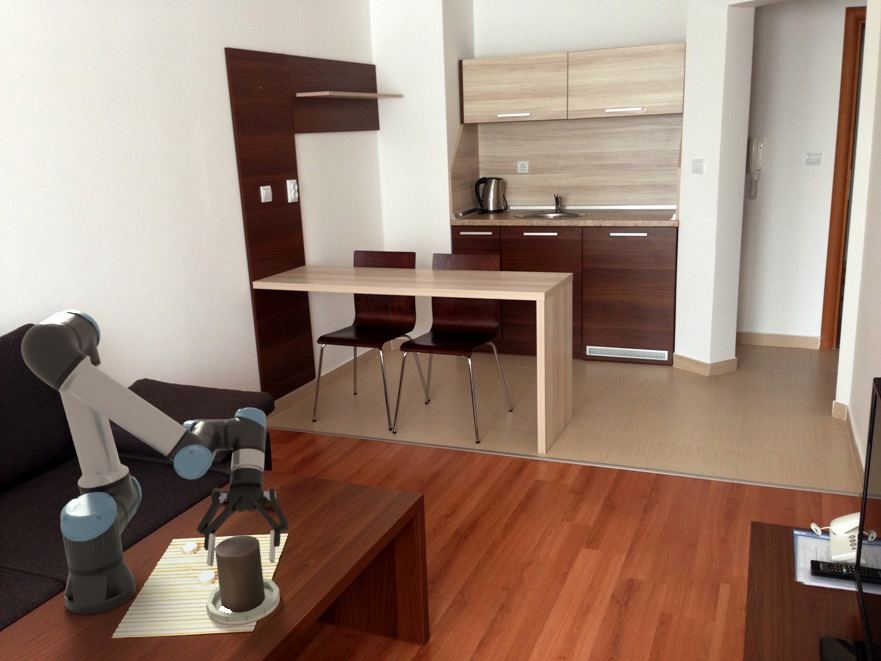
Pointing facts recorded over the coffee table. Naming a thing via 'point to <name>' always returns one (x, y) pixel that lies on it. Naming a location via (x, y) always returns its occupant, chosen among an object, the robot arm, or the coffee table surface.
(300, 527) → the coffee table surface
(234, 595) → the pillar candle
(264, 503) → the dark brown bark log
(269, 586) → the candle plate
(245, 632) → the coffee table surface
